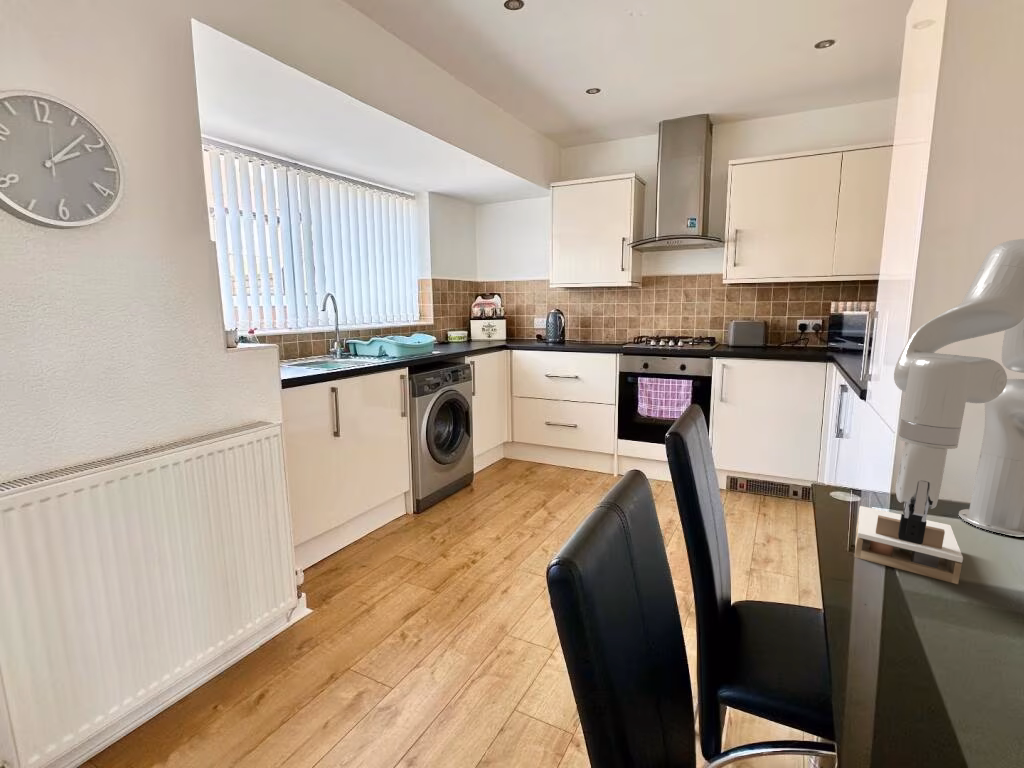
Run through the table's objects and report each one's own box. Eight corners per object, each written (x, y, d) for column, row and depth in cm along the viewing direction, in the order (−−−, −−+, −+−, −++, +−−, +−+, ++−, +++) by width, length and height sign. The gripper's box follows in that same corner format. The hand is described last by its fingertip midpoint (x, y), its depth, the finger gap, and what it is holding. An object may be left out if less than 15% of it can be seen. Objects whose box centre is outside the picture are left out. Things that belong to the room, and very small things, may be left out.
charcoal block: (911, 560, 90) (913, 543, 89) (934, 566, 88) (937, 548, 87) (912, 567, 87) (915, 550, 87) (936, 573, 85) (939, 556, 85)
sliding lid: (859, 509, 102) (862, 491, 102) (949, 529, 95) (953, 509, 94) (857, 537, 89) (860, 516, 89) (962, 562, 82) (966, 540, 81)
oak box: (856, 529, 103) (859, 510, 103) (945, 550, 95) (949, 530, 95) (854, 559, 90) (857, 538, 90) (957, 587, 82) (961, 564, 82)
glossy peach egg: (874, 547, 94) (876, 531, 93) (895, 555, 91) (898, 539, 91) (865, 551, 92) (868, 535, 92) (886, 560, 89) (889, 543, 89)
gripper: (897, 422, 90) (881, 519, 93) (901, 438, 78) (883, 550, 81) (952, 429, 86) (933, 531, 89) (966, 448, 74) (944, 565, 77)
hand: (909, 540), depth 85 cm, fingers closed
